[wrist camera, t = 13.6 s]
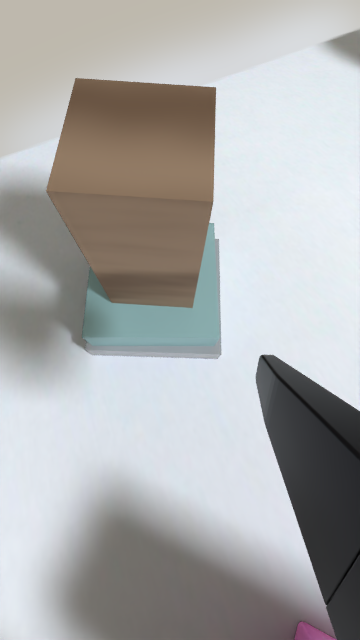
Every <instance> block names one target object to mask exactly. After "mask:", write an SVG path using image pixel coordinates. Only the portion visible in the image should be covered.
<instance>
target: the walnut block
mask: <svg viewBox="0 0 360 640" xmlns="http://www.w3.org/2000/svg"><path fill="white" fill-rule="evenodd" d="M215 105H216V87H201V86H185V85H171V84H170V85H169V84H154V83H140V82H124V81H110V80H95V79H79V78H76V79H75V83H74V87H73V90H72V94H71V98H70V102H69V106H68V109H67V114H66V117H65V121H64V125H63V129H62V132H61V136H60V140H59V144H58V148H57V152H56V155H55V159H54V163H53V167H52V171H51V174H50V178H49V182H48V186H47V190H46V192H47V193H48V195H49V197H50V198H51V200H52V202H53V204H54V205H55V207H56V209H57V210H58V212H59V214H60V215H61V217H62V219H63V221H64V222H65V224H66V226H67V227H68V229H69V231H70V233H71V234H72V236H73V238H74V239H75V241H76V243H77V244H78V246H79V248H80V250H81V251H82V253H83V255H84V256H85V258H86V260H87V262H88V263H89V265H90V267H91V268H92V270H93V272H94V273H95V275H96V277H97V279H98V280H99V282H100V284H101V285H102V287H103V289H104V291H105V292H106V294H107V296H108V297H109V299H110V301H111V302H112V303H120V304H136V305H152V306H169V307H185V308H193V303H194V298H195V293H196V288H197V283H198V278H199V272H200V267H201V262H202V257H203V252H204V247H205V241H206V236H207V231H208V226H209V221H210V216H211V211H212V205H213V189H214V147H215Z"/></svg>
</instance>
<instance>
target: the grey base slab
mask: <svg viewBox="0 0 360 640" xmlns="http://www.w3.org/2000/svg"><path fill="white" fill-rule="evenodd" d="M215 254H216V273H217V293H218V312H219V332H220V338H219V340H218V341H217V343H216V344H215V346H92V345H91V344H90V343H88V342H87V341H86V348H85V350H86V351H87V352H89V353H90V354H92V355H107V356H139V357H171V358H203V359H218V358H219V356H220V355H221V320H220V272H219V239H215Z"/></svg>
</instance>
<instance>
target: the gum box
mask: <svg viewBox="0 0 360 640" xmlns="http://www.w3.org/2000/svg"><path fill="white" fill-rule="evenodd" d="M294 640H336V639H334V638H333V637H331V636H329V635H327V634H325V633H324V632H322V631H320V630H318V629H316V628H315V627H313V626H311V625H309V624H307V623H305V622H302V621H301V622H299V624H298V626H297V631H296V635H295V639H294Z"/></svg>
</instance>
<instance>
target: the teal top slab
mask: <svg viewBox="0 0 360 640" xmlns="http://www.w3.org/2000/svg"><path fill="white" fill-rule="evenodd" d="M82 338H83V339H85V340H86V341H87V342H88V343H90V344H91V345H92V346H215V344H216V343H217V341H218V340H219V338H220V332H219V312H218V293H217V273H216V254H215V235H214V223H209V226H208V231H207V236H206V241H205V247H204V252H203V257H202V262H201V267H200V272H199V278H198V283H197V288H196V293H195V298H194V303H193V308H185V307H169V306H152V305H136V304H120V303H112V302H111V301H110V299H109V297H108V296H107V294H106V292H105V291H104V289H103V287H102V285H101V284H100V282H99V280H98V279H97V277H96V275H95V273H94V272H93V270H92V268H91V267H90V270H89V279H88V288H87V296H86V305H85V314H84V323H83V331H82Z"/></svg>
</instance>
